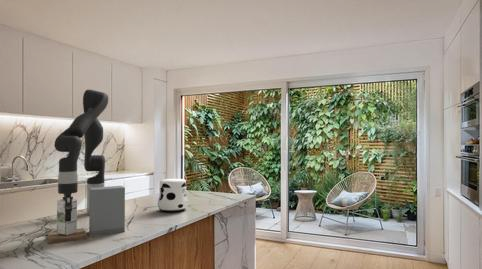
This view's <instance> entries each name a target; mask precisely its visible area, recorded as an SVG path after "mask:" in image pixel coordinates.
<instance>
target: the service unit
mask: <svg viewBox="0 0 482 269" xmlns="http://www.w3.org/2000/svg"><path fill="white" fill-rule="evenodd" d="M125 210H126V187H125V186H123V185H112V186H111V185H110V186H104V187H94V188H90V201H89V216H88V217H89V219H88V220H89V221H88V222H89V223H88V225H89V226H88V229H89V230H88V231H89V232H88V233H89V236H90V237H94V236H103V235H110V234H116V233H124V232H125V231H126V230H125V228H126V227H125V226H126V223H125V222H126V221H125V220H126V217H125V216H126V214H125V213H126V211H125Z"/></svg>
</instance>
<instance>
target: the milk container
mask: <svg viewBox="0 0 482 269" xmlns="http://www.w3.org/2000/svg"><path fill="white" fill-rule="evenodd" d="M157 207H158V209H159V210H160V211H161V212H169V213H171V212H180V211H184V210H186V208H187V207H188V197H187V181H186V179H185V178H165V179H160V180H159V196H158V200H157Z"/></svg>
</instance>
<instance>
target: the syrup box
mask: <svg viewBox="0 0 482 269" xmlns="http://www.w3.org/2000/svg"><path fill="white" fill-rule="evenodd" d="M56 202H57V203H56V231H57V234H61V235H69V234H73V233H76V232H77V229H78V199H77V198H76V199H74V198H73V207H72V212H71V221H69V222H65V208H64V207H63V206H64V203H65V201H64V202H63V198H62V199H58V200H56ZM66 209H70V208H68V207H66Z"/></svg>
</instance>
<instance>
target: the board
mask: <svg viewBox="0 0 482 269" xmlns="http://www.w3.org/2000/svg"><path fill="white" fill-rule="evenodd" d="M87 238H88V236H87V233H86V230H85V228H84V227H82V228H77V232H76V233H73V234H69V235H61V234H57V230H56V231H49V232H48V244H56V243H62V242H63V243H65V242H71V241H77V240H86V239H87Z"/></svg>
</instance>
